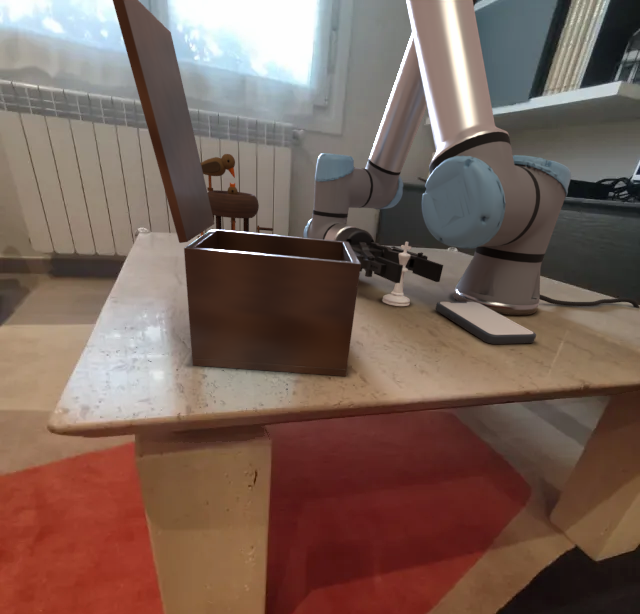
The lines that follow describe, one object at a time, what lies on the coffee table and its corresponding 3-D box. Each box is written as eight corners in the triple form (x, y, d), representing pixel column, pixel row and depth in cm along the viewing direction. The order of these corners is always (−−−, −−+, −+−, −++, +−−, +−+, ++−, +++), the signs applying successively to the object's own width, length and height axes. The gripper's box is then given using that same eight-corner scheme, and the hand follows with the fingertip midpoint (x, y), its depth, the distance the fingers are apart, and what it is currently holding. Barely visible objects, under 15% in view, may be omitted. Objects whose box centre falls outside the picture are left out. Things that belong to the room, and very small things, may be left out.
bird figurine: (195, 281, 74) (185, 146, 65) (191, 272, 84) (183, 153, 74) (279, 282, 79) (281, 157, 70) (267, 274, 88) (268, 161, 79)
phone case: (537, 345, 62) (474, 310, 75) (541, 335, 62) (477, 301, 74) (487, 346, 60) (431, 310, 72) (490, 336, 59) (433, 300, 72)
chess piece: (403, 308, 72) (415, 245, 67) (377, 301, 74) (387, 240, 69) (413, 302, 76) (426, 243, 71) (388, 296, 78) (399, 238, 73)
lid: (170, 31, 41) (162, 32, 41) (118, -21, 30) (107, -19, 30) (214, 224, 50) (208, 225, 50) (187, 242, 39) (179, 243, 39)
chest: (337, 334, 58) (348, 241, 52) (345, 376, 46) (360, 264, 40) (215, 324, 57) (211, 228, 50) (192, 365, 45) (183, 247, 39)
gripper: (388, 266, 91) (460, 295, 75) (302, 266, 83) (363, 299, 66) (394, 228, 87) (472, 250, 71) (305, 224, 79) (370, 248, 62)
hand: (419, 273), depth 68 cm, fingers open, 8 cm apart
